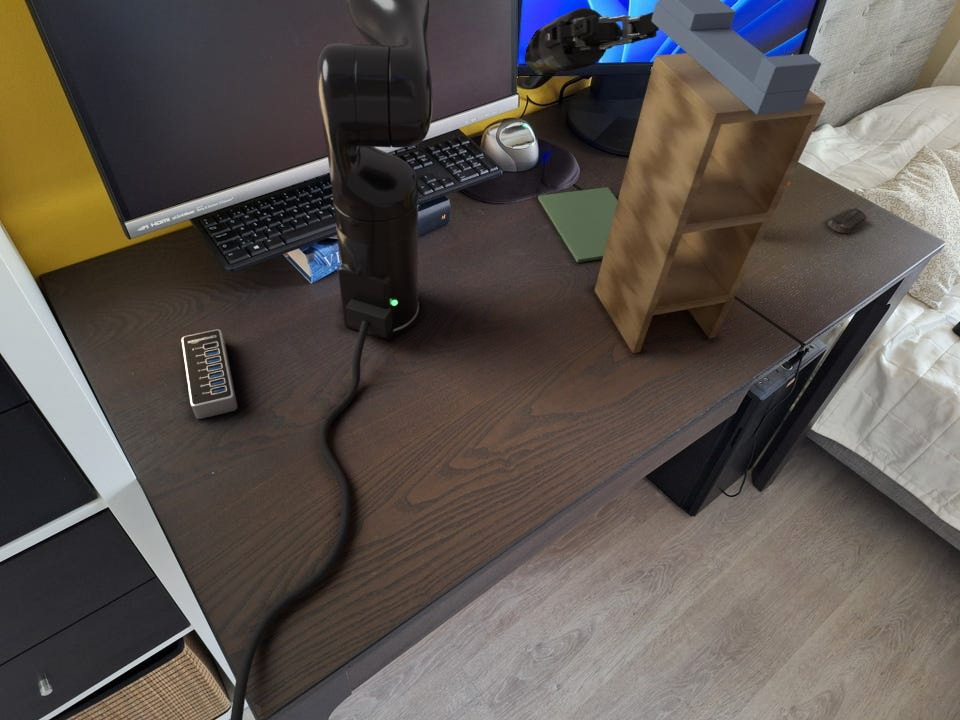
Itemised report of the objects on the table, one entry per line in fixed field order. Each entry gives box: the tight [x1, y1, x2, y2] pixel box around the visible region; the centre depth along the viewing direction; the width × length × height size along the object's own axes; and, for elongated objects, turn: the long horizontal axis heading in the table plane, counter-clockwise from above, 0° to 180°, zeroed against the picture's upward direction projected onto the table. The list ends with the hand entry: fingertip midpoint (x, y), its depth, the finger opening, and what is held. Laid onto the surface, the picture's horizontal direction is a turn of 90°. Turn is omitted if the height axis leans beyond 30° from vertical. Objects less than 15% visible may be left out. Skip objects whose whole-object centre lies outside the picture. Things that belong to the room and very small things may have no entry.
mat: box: [537, 186, 618, 264], centre depth 101 cm, size 16×12×1 cm
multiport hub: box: [181, 328, 238, 420], centre depth 76 cm, size 4×11×2 cm, turn 22°
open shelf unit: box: [594, 52, 827, 354], centre depth 77 cm, size 12×12×32 cm
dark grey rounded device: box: [827, 208, 867, 234], centre depth 105 cm, size 4×6×2 cm, turn 130°
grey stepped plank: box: [651, 0, 822, 115], centre depth 66 cm, size 21×5×4 cm, turn 17°
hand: (626, 22), depth 83 cm, fingers open, 8 cm apart
